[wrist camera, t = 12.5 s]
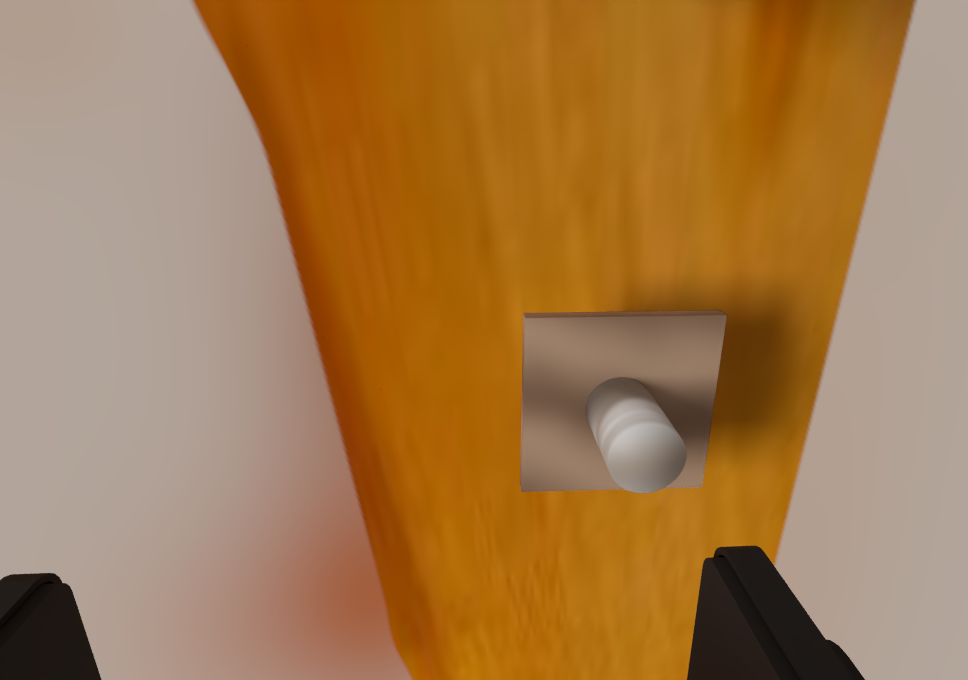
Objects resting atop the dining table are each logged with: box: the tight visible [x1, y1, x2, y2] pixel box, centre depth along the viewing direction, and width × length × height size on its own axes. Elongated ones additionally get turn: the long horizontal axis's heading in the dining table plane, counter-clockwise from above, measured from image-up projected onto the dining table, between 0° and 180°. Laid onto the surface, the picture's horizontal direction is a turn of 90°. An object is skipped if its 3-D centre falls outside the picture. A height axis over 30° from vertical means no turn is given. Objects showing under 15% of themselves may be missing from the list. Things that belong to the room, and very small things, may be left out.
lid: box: [520, 310, 727, 493], centre depth 29 cm, size 10×10×6 cm
